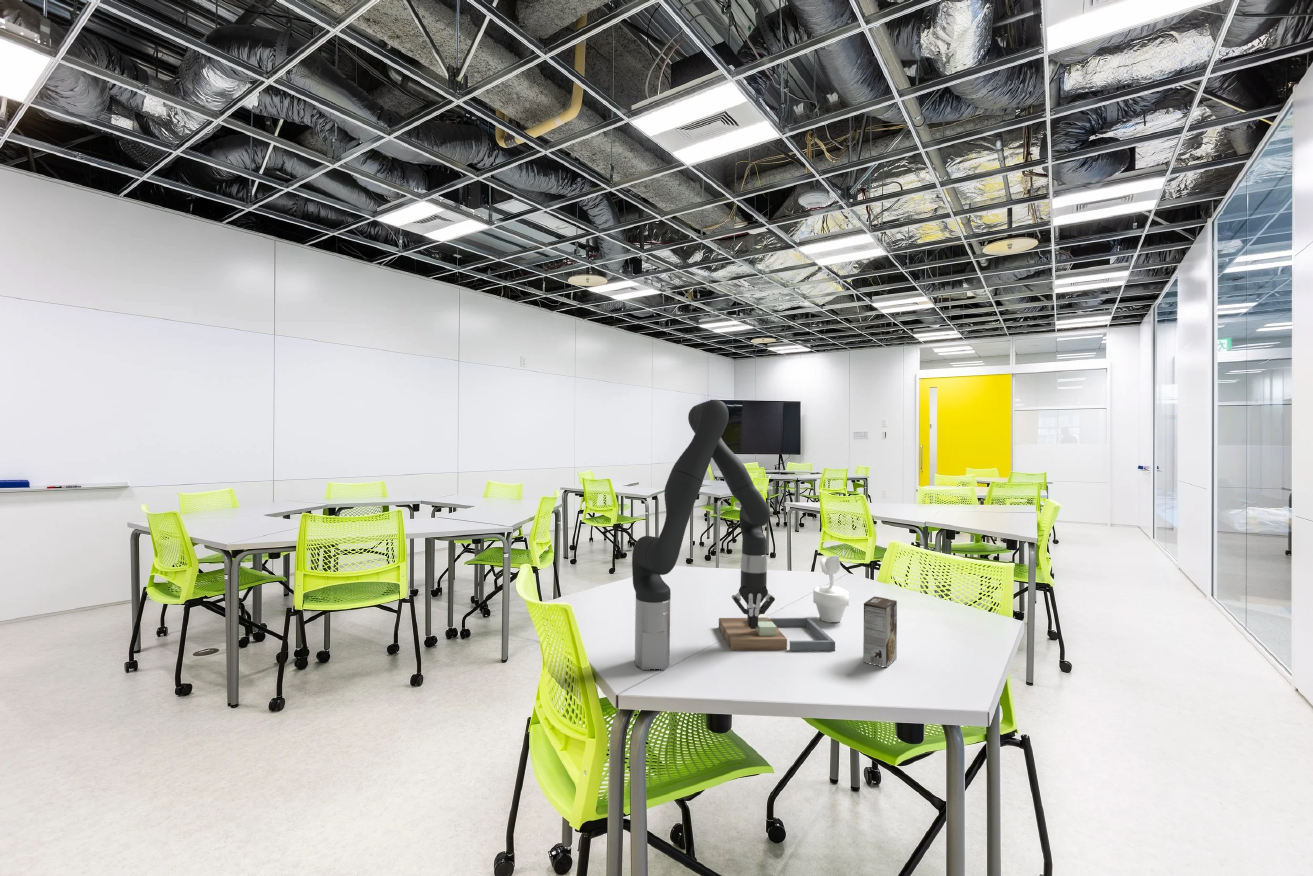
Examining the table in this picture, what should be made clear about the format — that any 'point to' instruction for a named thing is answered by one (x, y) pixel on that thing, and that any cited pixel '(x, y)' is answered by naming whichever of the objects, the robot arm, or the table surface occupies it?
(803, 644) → the tray
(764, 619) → the tile cream
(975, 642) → the table surface
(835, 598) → the potted plant
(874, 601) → the coffee box
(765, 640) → the board
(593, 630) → the table surface
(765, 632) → the tile sage
